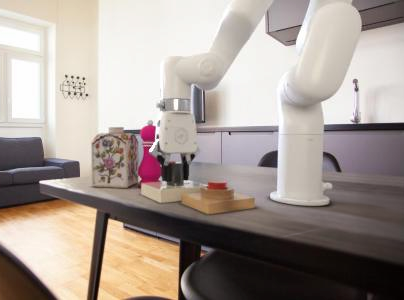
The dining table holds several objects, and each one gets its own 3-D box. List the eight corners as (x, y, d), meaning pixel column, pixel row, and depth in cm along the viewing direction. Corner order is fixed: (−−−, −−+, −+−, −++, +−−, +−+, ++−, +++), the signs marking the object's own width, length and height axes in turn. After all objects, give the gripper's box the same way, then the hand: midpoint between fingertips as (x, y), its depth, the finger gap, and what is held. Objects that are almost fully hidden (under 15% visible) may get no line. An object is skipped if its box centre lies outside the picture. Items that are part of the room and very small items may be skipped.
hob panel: (186, 190, 83) (186, 179, 82) (210, 197, 73) (210, 185, 72) (141, 194, 76) (141, 182, 76) (160, 203, 66) (160, 189, 66)
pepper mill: (162, 189, 84) (162, 119, 83) (137, 188, 84) (137, 119, 83) (161, 184, 92) (162, 120, 91) (138, 184, 92) (138, 120, 91)
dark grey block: (178, 182, 77) (178, 160, 77) (187, 184, 73) (187, 161, 73) (163, 183, 75) (163, 161, 75) (171, 186, 71) (172, 162, 71)
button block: (223, 198, 71) (224, 182, 71) (254, 208, 62) (254, 189, 62) (181, 203, 66) (181, 186, 66) (208, 214, 57) (208, 194, 57)
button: (218, 187, 67) (218, 179, 67) (230, 190, 63) (230, 182, 63) (204, 188, 65) (204, 180, 65) (215, 191, 61) (215, 183, 61)
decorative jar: (139, 182, 96) (139, 127, 95) (128, 188, 85) (128, 126, 84) (105, 181, 99) (105, 127, 98) (90, 187, 87) (89, 126, 86)
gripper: (151, 105, 66) (151, 185, 67) (212, 108, 74) (211, 180, 75) (138, 107, 73) (138, 180, 74) (195, 110, 81) (194, 176, 81)
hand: (175, 179), depth 74 cm, fingers closed on dark grey block, 4 cm apart
